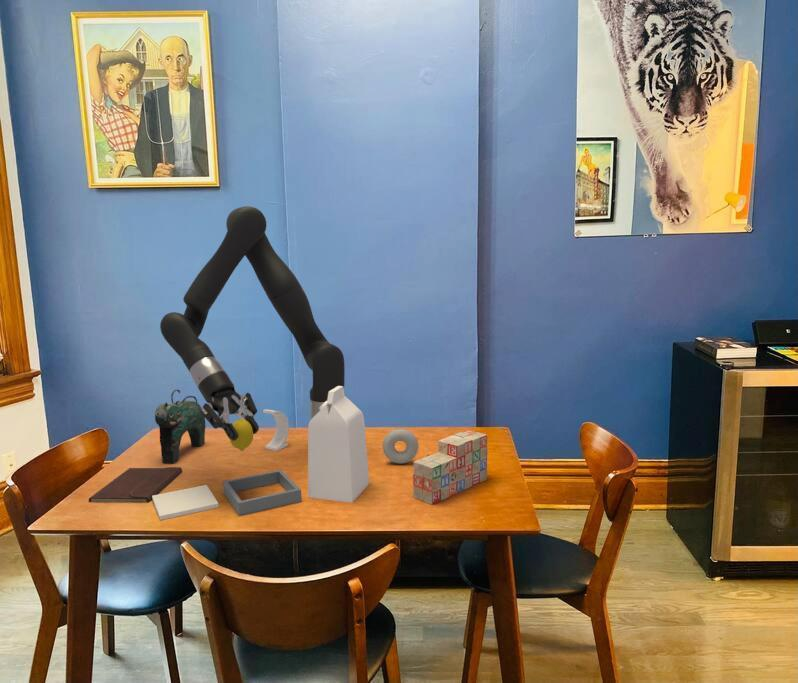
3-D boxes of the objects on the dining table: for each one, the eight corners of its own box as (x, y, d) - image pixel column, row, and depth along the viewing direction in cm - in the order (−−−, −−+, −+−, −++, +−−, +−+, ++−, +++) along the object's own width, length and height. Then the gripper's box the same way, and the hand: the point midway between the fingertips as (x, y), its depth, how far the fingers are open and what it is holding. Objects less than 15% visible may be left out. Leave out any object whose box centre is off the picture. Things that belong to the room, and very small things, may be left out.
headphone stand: (265, 448, 184) (262, 410, 182) (278, 442, 190) (276, 405, 188) (276, 451, 182) (274, 412, 180) (290, 445, 187) (288, 407, 185)
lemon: (247, 455, 143) (246, 422, 142) (226, 453, 145) (224, 421, 143) (257, 447, 149) (256, 415, 147) (236, 446, 150) (235, 414, 149)
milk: (352, 502, 145) (349, 396, 141) (308, 497, 149) (303, 393, 144) (369, 483, 157) (366, 384, 152) (327, 478, 160) (324, 382, 156)
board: (206, 488, 155) (206, 484, 155) (218, 507, 144) (218, 503, 144) (152, 499, 149) (151, 495, 149) (160, 520, 138) (159, 516, 138)
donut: (382, 465, 169) (381, 430, 167) (383, 461, 172) (382, 427, 170) (418, 465, 168) (418, 430, 167) (418, 461, 172) (418, 426, 170)
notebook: (88, 503, 148) (88, 496, 148) (129, 473, 168) (128, 466, 167) (149, 504, 147) (148, 496, 147) (182, 473, 167) (182, 466, 166)
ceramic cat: (172, 466, 171) (167, 397, 168) (152, 464, 172) (146, 396, 169) (210, 443, 190) (206, 380, 187) (192, 442, 192) (187, 380, 188)
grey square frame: (281, 480, 159) (281, 469, 159) (301, 501, 146) (301, 489, 146) (223, 492, 152) (222, 481, 152) (239, 515, 139) (238, 503, 139)
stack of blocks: (432, 505, 143) (431, 455, 141) (413, 498, 148) (412, 449, 146) (487, 479, 158) (487, 433, 156) (468, 473, 162) (468, 428, 160)
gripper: (192, 375, 142) (228, 434, 137) (241, 365, 154) (276, 419, 149) (180, 394, 146) (214, 452, 141) (228, 383, 158) (262, 436, 153)
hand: (246, 435), depth 145 cm, fingers closed on lemon, 5 cm apart
